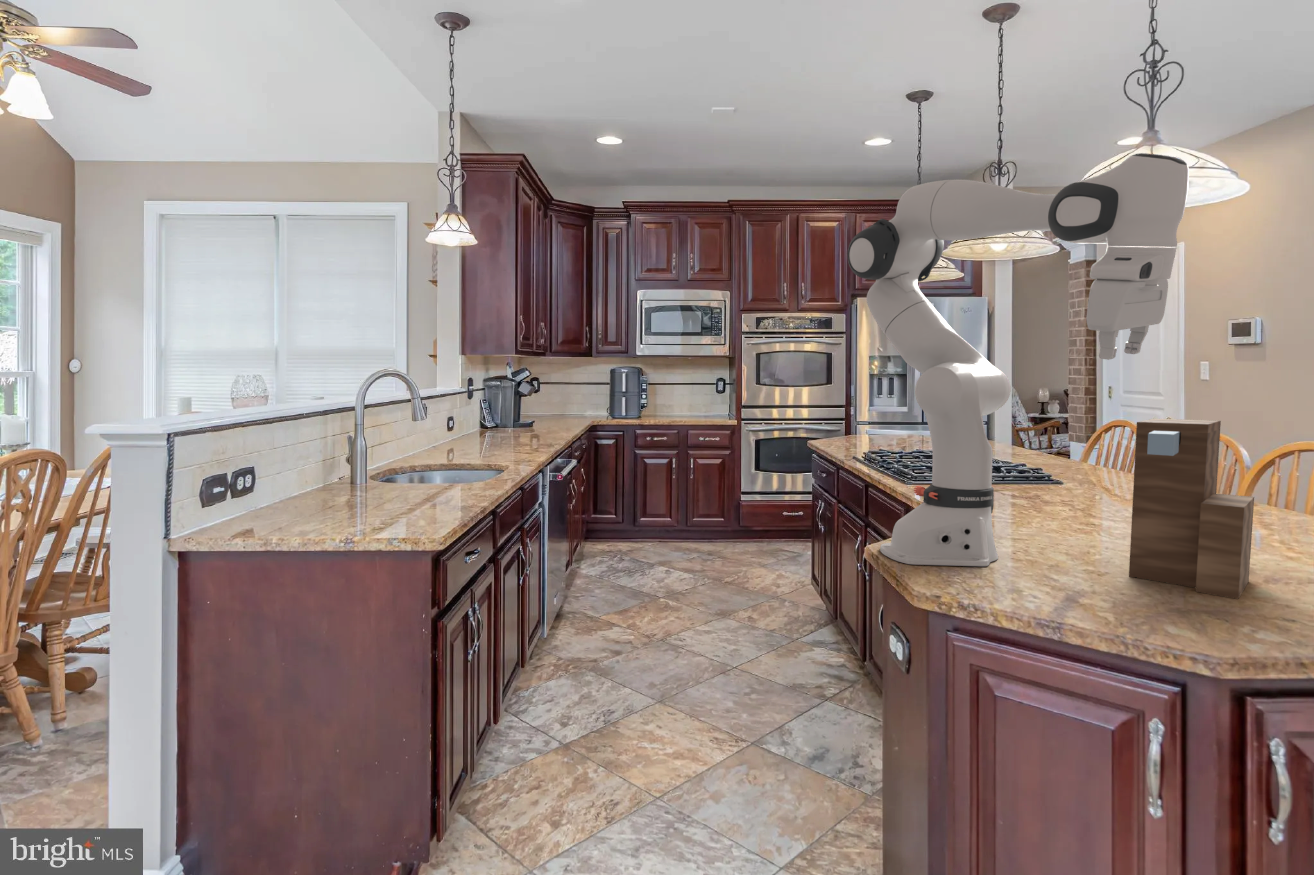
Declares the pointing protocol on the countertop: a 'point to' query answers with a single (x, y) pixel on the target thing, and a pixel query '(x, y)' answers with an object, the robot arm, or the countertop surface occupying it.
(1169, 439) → the plug
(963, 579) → the countertop surface
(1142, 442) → the stand
